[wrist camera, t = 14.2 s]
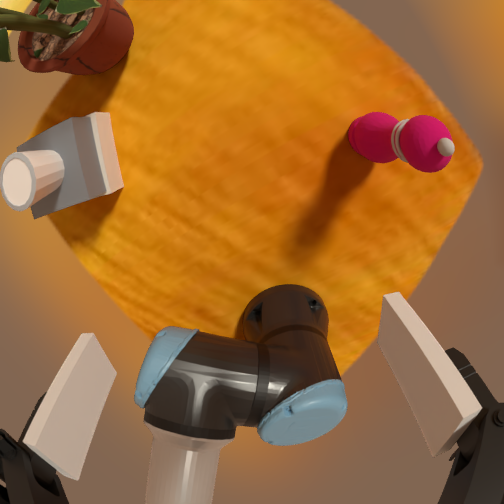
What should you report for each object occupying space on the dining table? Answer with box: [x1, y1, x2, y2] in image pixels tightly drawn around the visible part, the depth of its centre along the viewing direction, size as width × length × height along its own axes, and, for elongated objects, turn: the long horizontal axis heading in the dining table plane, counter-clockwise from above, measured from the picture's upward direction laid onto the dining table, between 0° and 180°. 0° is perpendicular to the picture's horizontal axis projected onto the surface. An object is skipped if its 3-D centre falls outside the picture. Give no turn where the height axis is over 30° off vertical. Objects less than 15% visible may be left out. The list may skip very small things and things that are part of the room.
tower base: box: [84, 112, 124, 199], centre depth 35 cm, size 12×12×5 cm
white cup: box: [0, 150, 65, 211], centre depth 25 cm, size 7×7×7 cm
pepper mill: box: [348, 112, 454, 173], centre depth 28 cm, size 7×7×20 cm
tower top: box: [17, 117, 107, 219], centre depth 31 cm, size 11×11×5 cm
